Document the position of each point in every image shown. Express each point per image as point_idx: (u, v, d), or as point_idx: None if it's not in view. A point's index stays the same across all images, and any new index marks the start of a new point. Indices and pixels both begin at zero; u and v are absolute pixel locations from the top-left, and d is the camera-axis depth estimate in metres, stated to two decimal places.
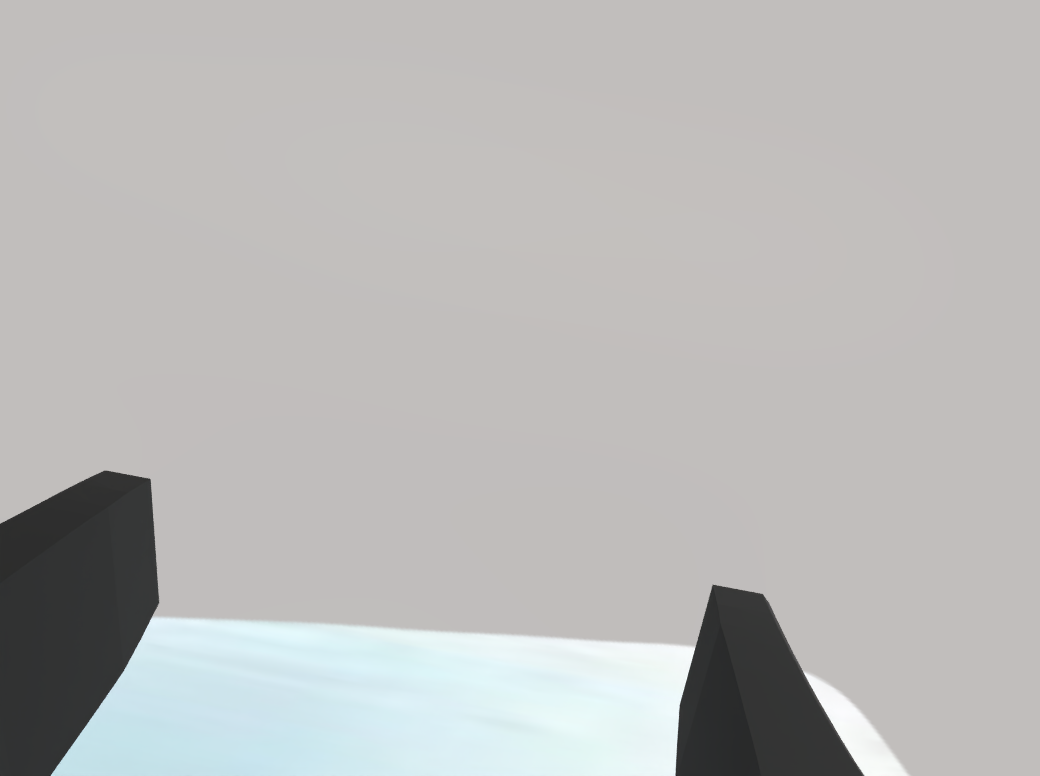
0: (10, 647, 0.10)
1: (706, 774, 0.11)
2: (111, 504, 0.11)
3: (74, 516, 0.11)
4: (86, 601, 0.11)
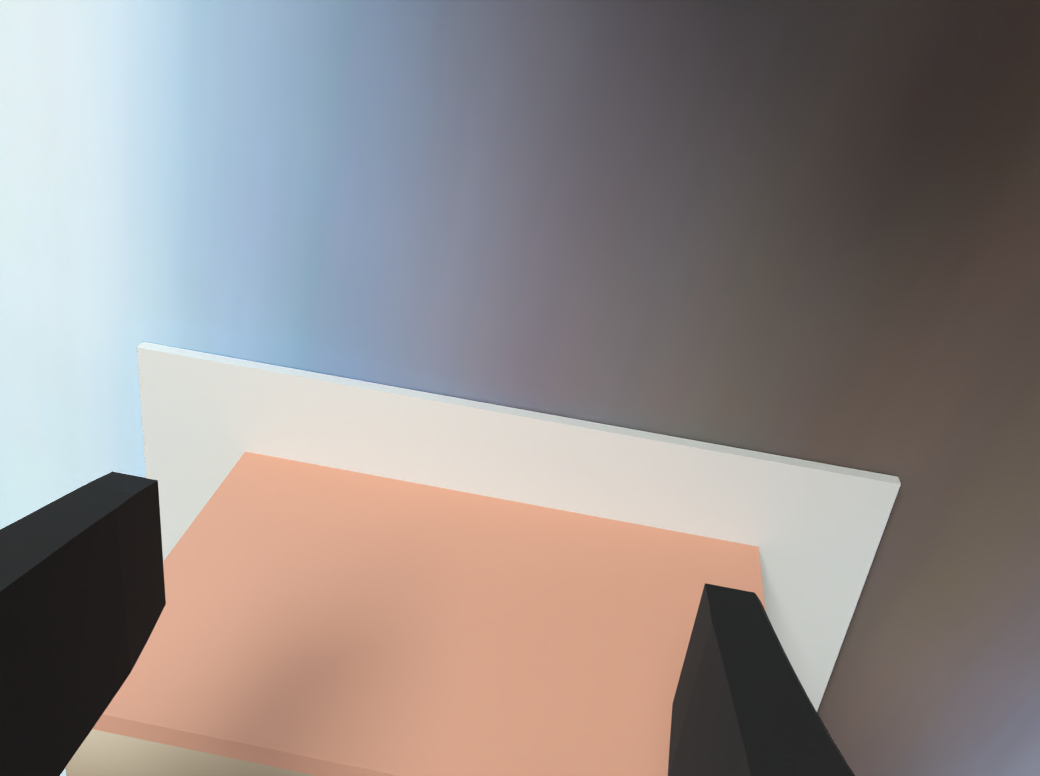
0: (19, 649, 0.10)
1: (697, 772, 0.11)
2: (119, 505, 0.11)
3: (82, 518, 0.11)
4: (94, 602, 0.11)
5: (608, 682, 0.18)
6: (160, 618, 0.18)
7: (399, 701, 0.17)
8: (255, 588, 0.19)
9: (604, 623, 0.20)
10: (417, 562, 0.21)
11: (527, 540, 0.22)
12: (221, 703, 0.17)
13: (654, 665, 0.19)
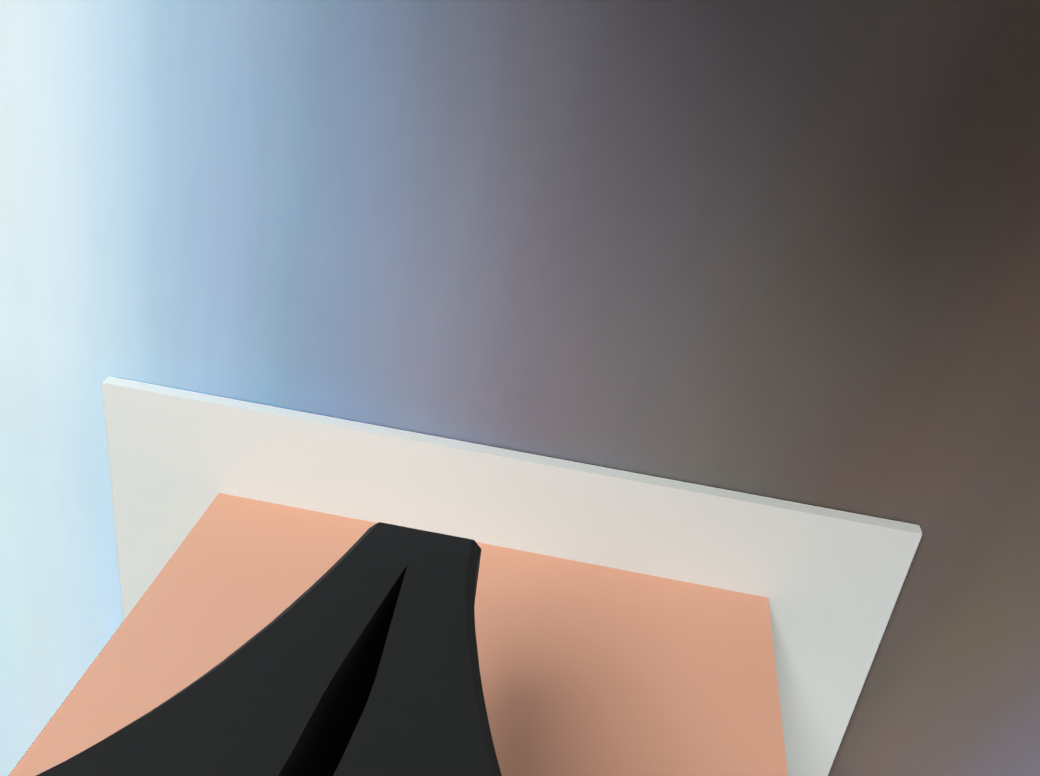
0: (345, 715, 0.10)
1: None
2: (409, 561, 0.11)
3: (382, 575, 0.11)
4: None
5: (605, 758, 0.17)
6: (117, 687, 0.17)
7: None
8: (223, 650, 0.18)
9: (602, 688, 0.18)
10: None
11: (519, 592, 0.20)
12: None
13: (656, 738, 0.17)
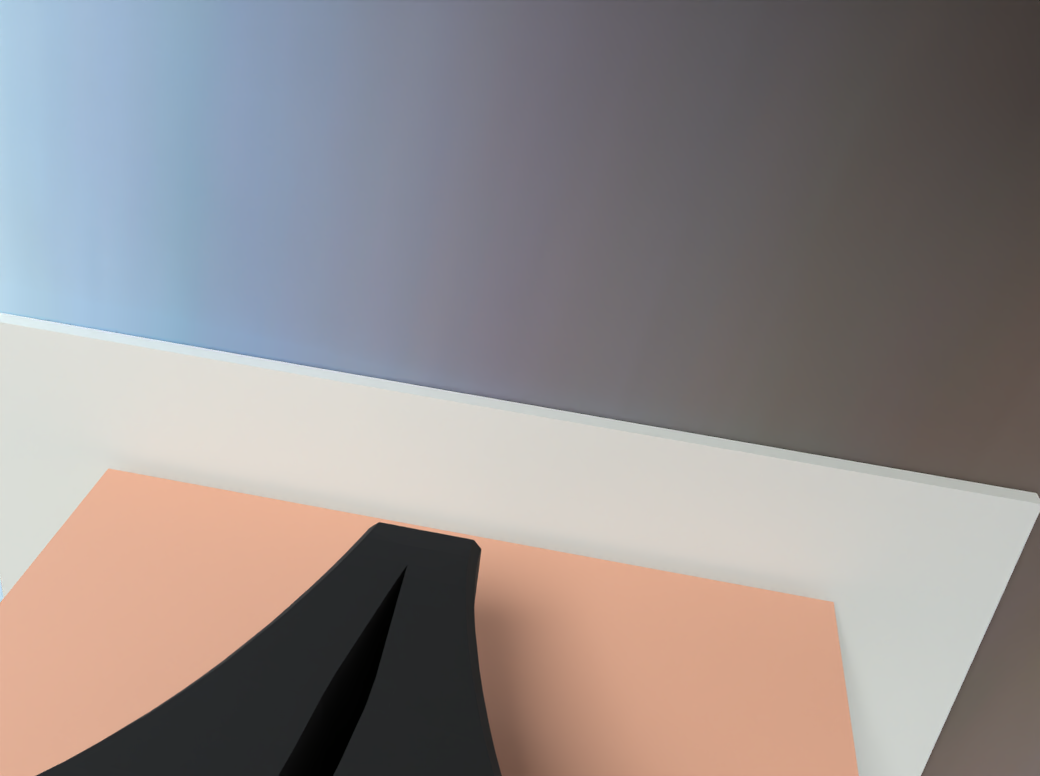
0: (346, 715, 0.10)
1: None
2: (410, 561, 0.11)
3: (382, 575, 0.11)
4: None
5: None
6: None
7: None
8: (84, 707, 0.13)
9: (611, 750, 0.13)
10: None
11: (501, 604, 0.15)
12: None
13: None
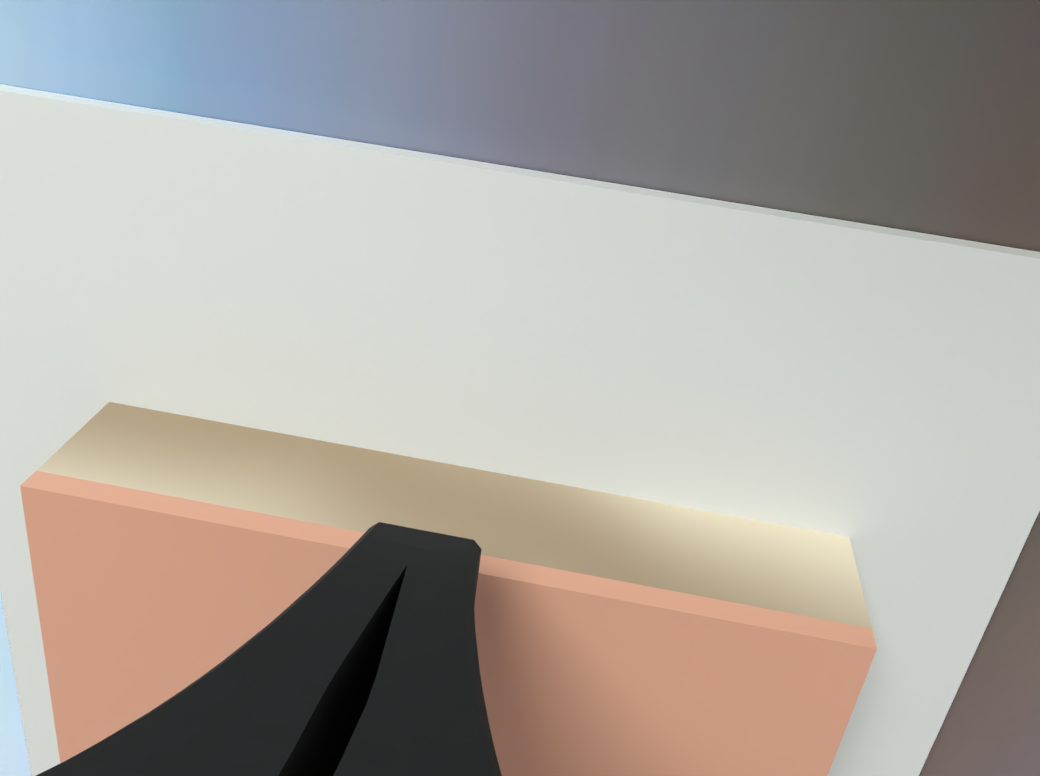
0: (345, 715, 0.10)
1: None
2: (409, 561, 0.11)
3: (382, 575, 0.11)
4: None
5: None
6: None
7: None
8: None
9: None
10: None
11: (489, 650, 0.14)
12: None
13: None
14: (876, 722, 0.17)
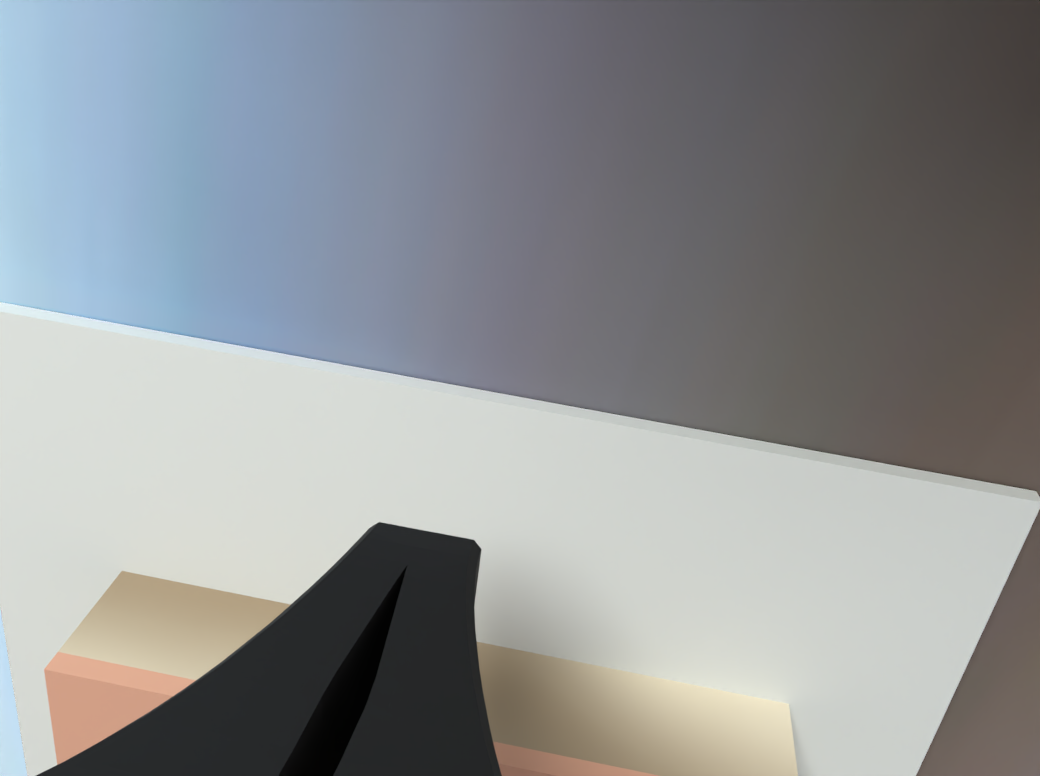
0: (345, 715, 0.10)
1: None
2: (409, 561, 0.11)
3: (382, 575, 0.11)
4: None
5: None
6: None
7: None
8: None
9: None
10: None
11: None
12: None
13: None
14: None
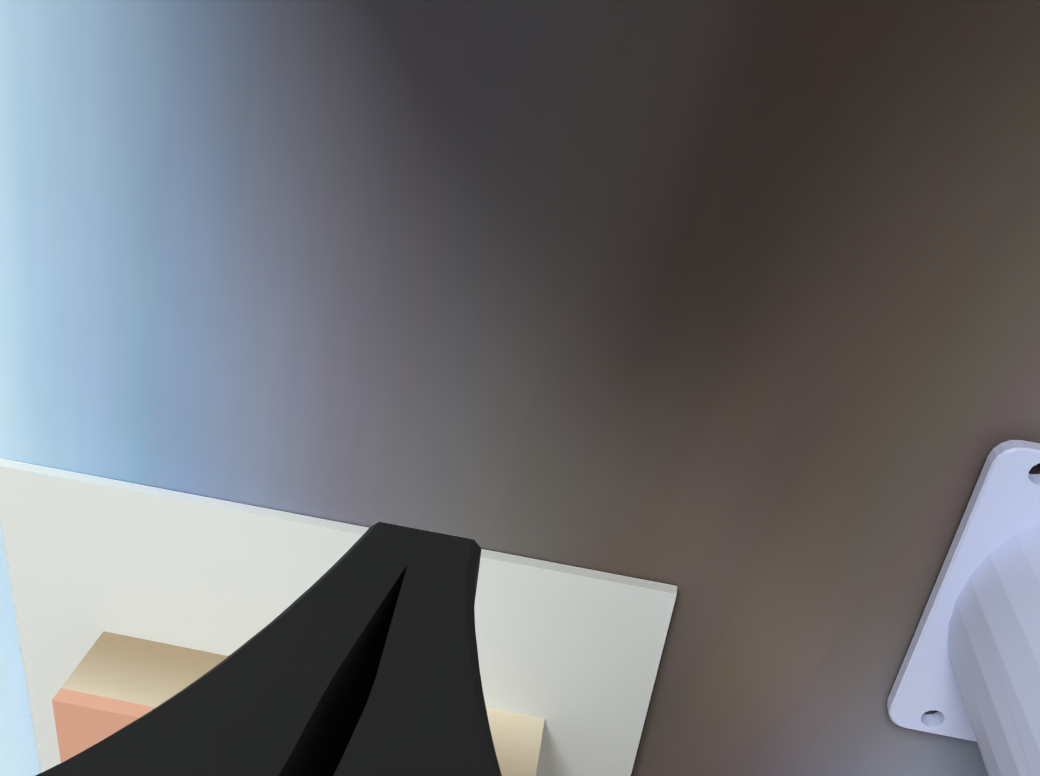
0: (345, 715, 0.10)
1: None
2: (409, 561, 0.11)
3: (382, 575, 0.11)
4: None
5: None
6: None
7: None
8: None
9: None
10: None
11: None
12: None
13: None
14: None
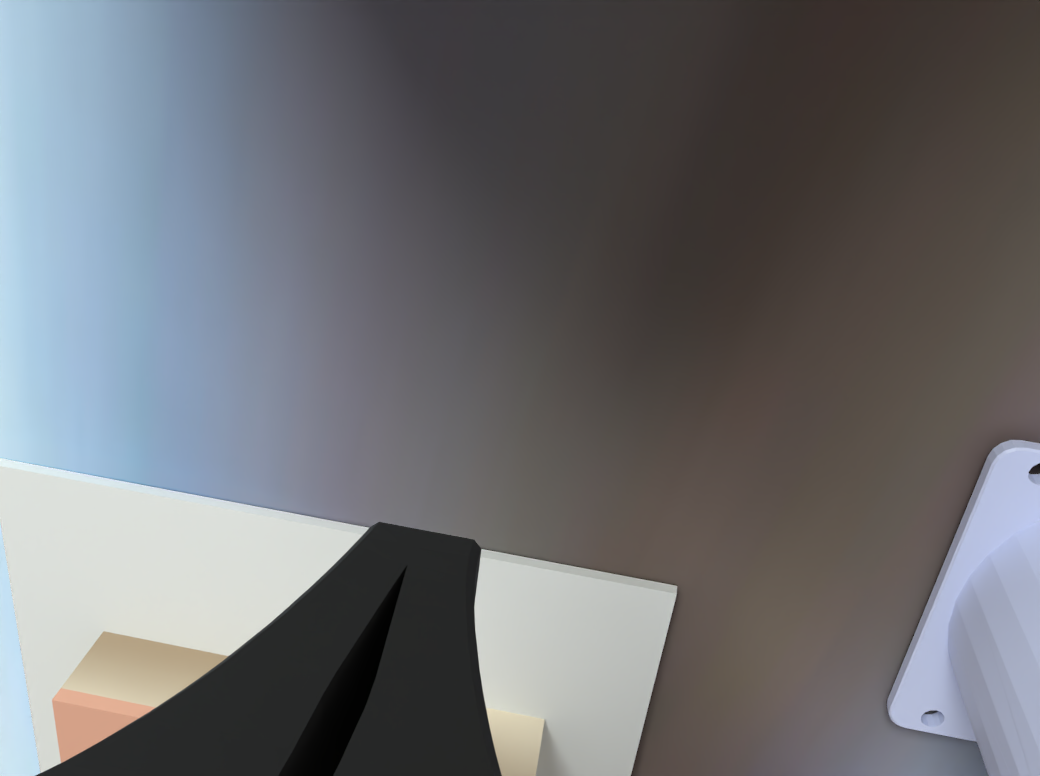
0: (345, 715, 0.10)
1: None
2: (409, 561, 0.11)
3: (382, 575, 0.11)
4: None
5: None
6: None
7: None
8: None
9: None
10: None
11: None
12: None
13: None
14: None
